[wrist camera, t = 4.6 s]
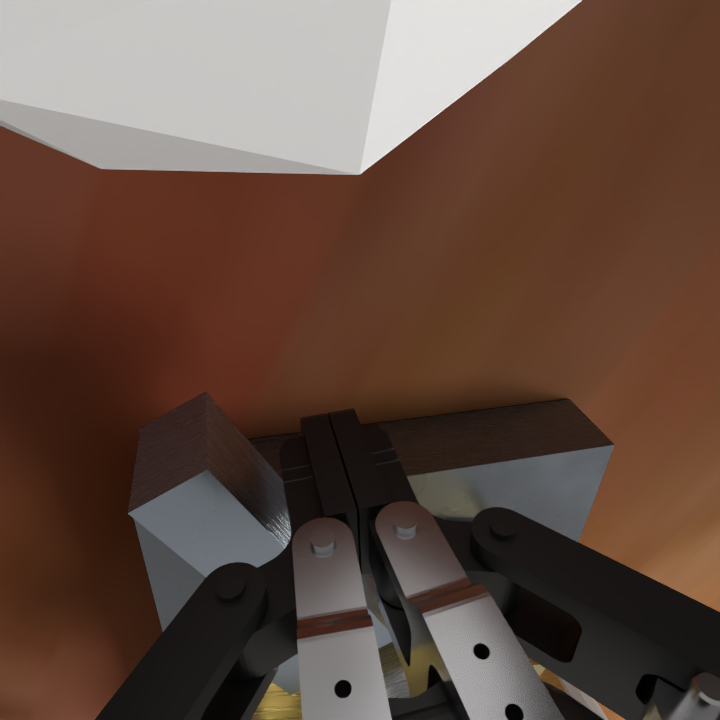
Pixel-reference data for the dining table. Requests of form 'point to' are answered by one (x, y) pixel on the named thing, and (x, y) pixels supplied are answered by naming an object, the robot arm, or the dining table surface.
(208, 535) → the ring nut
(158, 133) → the geodesic sphere
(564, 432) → the housing
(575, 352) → the dining table surface
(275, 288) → the dining table surface
